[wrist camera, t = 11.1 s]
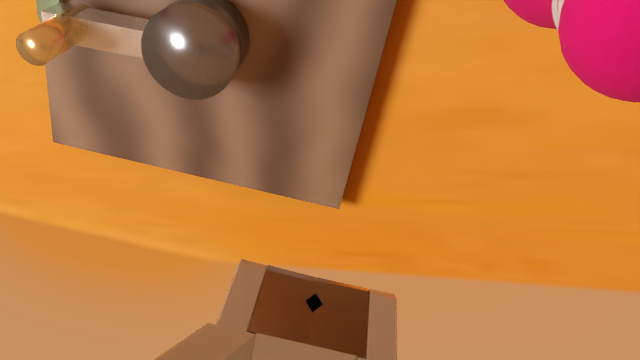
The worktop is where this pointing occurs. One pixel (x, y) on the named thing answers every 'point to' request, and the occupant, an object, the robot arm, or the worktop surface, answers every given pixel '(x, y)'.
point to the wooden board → (235, 98)
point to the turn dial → (151, 41)
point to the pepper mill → (594, 40)
